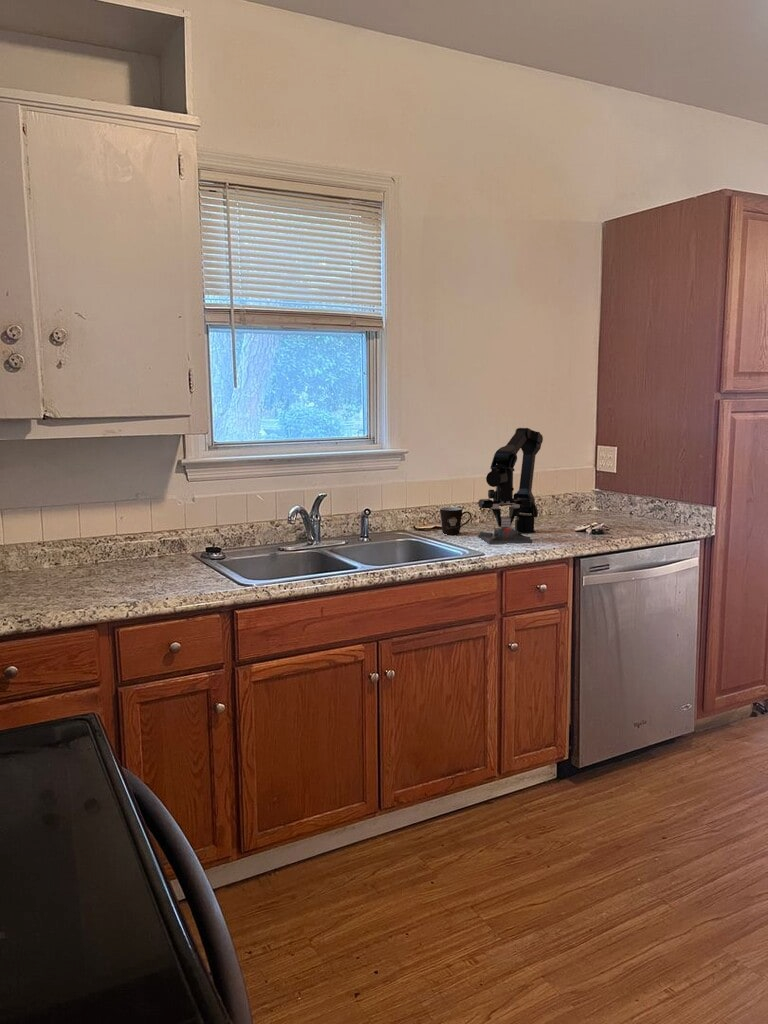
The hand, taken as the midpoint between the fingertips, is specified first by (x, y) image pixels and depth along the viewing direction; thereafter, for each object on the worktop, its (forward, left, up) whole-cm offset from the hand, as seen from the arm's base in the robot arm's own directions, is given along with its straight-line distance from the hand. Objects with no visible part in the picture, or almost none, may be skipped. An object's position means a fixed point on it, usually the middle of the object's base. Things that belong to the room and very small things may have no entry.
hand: (504, 526), depth 288 cm
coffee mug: (+15, -15, -5) cm, 22 cm away
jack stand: (0, 0, -5) cm, 5 cm away
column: (0, 0, -3) cm, 3 cm away
